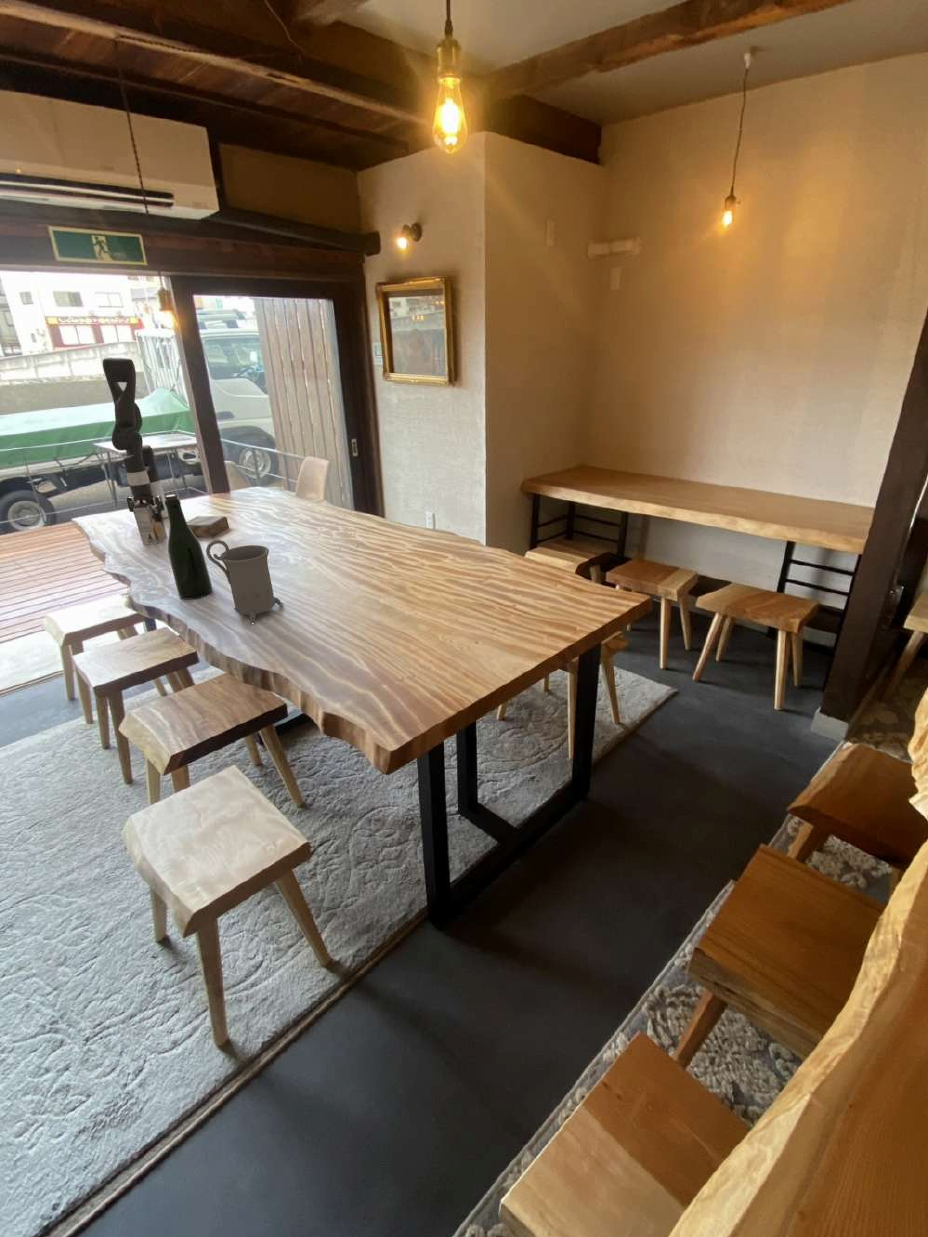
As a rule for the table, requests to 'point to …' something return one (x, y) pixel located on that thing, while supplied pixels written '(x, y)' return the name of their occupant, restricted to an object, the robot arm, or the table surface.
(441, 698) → the table surface
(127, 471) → the robot arm
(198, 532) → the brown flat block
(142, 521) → the coffee box
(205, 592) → the beer bottle
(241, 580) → the mug
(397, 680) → the table surface
